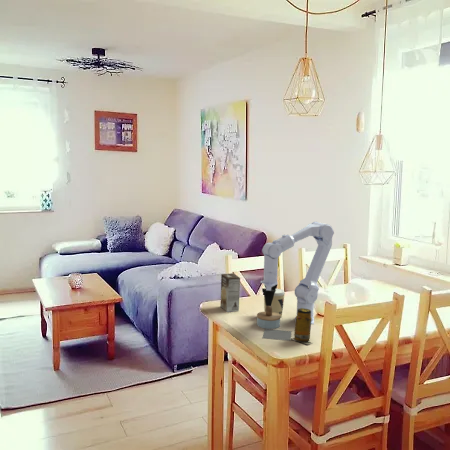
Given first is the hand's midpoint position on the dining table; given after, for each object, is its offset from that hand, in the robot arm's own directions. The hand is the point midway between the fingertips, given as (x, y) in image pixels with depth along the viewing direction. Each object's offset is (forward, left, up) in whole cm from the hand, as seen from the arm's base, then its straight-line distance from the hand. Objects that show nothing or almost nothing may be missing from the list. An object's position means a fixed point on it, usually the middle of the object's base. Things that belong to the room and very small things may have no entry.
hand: (269, 303), depth 203 cm
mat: (+11, +4, -10) cm, 15 cm away
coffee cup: (-13, +1, -10) cm, 16 cm away
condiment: (+15, +15, -10) cm, 23 cm away
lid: (0, 0, -6) cm, 6 cm away
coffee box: (-19, -20, -10) cm, 29 cm away
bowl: (0, 0, -10) cm, 10 cm away
